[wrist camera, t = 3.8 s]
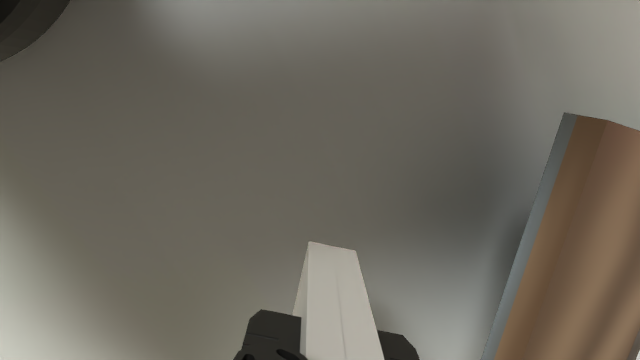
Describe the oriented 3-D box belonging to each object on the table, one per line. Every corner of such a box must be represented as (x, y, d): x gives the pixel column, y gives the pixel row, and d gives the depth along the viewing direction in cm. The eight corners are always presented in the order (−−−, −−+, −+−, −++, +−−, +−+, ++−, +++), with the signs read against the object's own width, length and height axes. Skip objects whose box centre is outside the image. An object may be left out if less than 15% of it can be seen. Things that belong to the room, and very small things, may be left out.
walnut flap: (439, 467, 16) (476, 505, 14) (557, 111, 13) (615, 121, 12) (590, 380, 24) (622, 400, 23) (681, 150, 21) (724, 158, 20)
